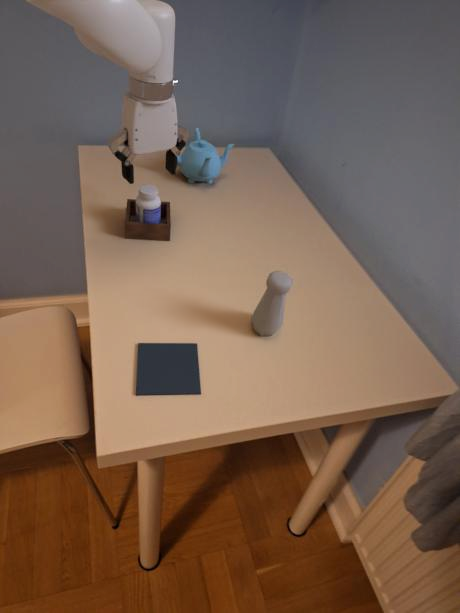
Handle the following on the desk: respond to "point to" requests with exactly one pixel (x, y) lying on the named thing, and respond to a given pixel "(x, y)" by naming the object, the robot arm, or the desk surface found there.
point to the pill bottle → (148, 205)
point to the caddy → (147, 224)
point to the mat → (167, 369)
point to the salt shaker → (272, 304)
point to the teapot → (201, 160)
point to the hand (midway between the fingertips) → (150, 176)
